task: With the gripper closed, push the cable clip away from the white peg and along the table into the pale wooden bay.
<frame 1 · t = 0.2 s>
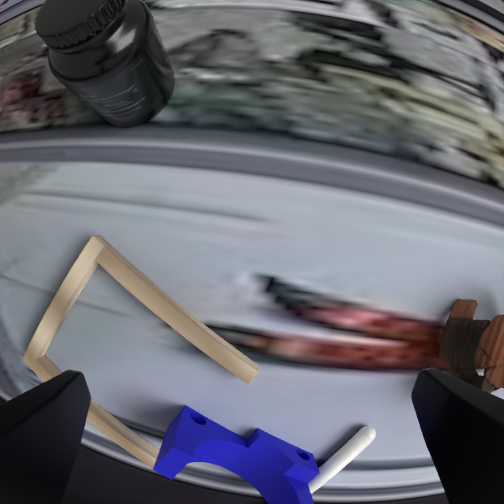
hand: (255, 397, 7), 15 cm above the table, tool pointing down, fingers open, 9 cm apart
wooden bay: (133, 369, 22), on the table
supplement bottle: (135, 91, 22), on the table
white peg: (310, 478, 23), on the table
cable clip: (242, 442, 23), on the table
pottery mug: (466, 344, 24), on the table
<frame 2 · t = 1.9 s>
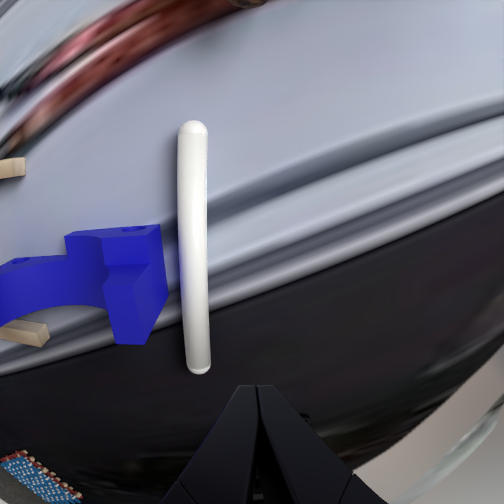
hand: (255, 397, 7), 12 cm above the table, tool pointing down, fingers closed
woven mat: (41, 473, 27), on the table
white peg: (195, 256, 18), on the table
cable clip: (82, 263, 19), on the table
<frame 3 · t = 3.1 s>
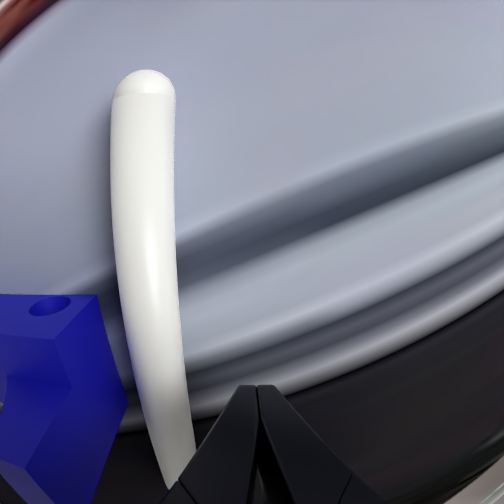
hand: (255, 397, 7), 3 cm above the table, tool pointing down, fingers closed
white peg: (162, 341, 9), on the table
cable clip: (1, 339, 10), on the table
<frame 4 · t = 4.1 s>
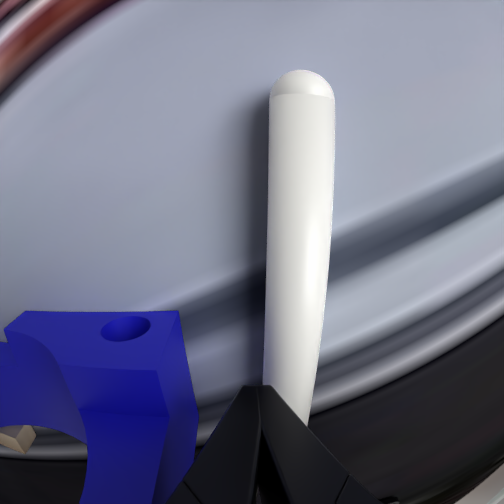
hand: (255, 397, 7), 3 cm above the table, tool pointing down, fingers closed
white peg: (287, 343, 10), on the table
cable clip: (46, 359, 10), on the table, touching gripper
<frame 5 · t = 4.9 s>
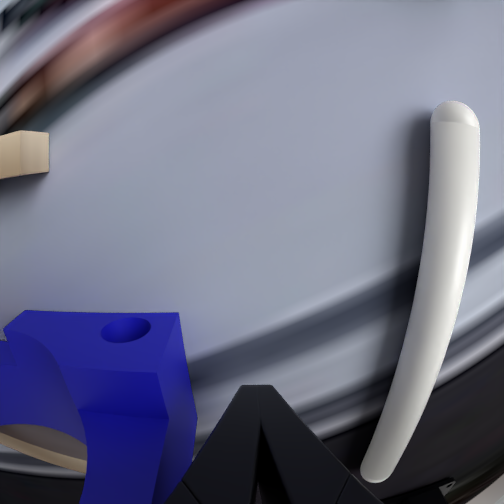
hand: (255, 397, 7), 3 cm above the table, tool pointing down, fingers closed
white peg: (415, 333, 10), on the table
cable clip: (45, 359, 10), on the table, touching gripper
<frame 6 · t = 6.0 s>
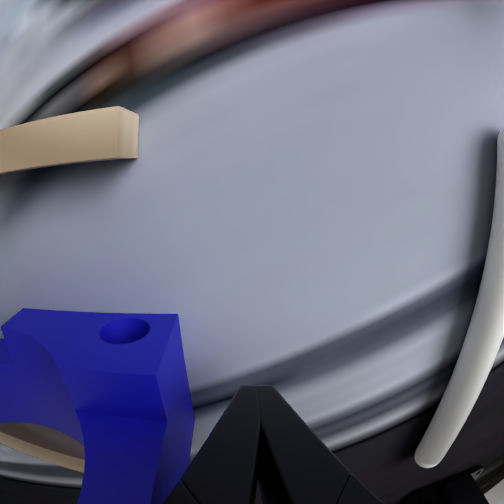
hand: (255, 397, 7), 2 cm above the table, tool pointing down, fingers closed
white peg: (474, 324, 10), on the table
cable clip: (42, 357, 10), on the table, touching gripper
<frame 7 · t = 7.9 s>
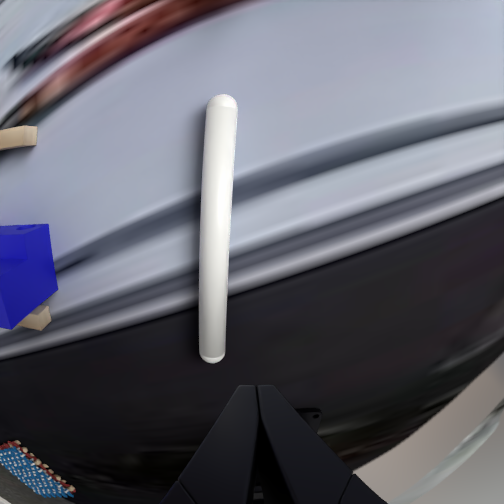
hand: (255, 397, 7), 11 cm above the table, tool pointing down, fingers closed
woven mat: (32, 464, 26), on the table
white peg: (215, 237, 18), on the table
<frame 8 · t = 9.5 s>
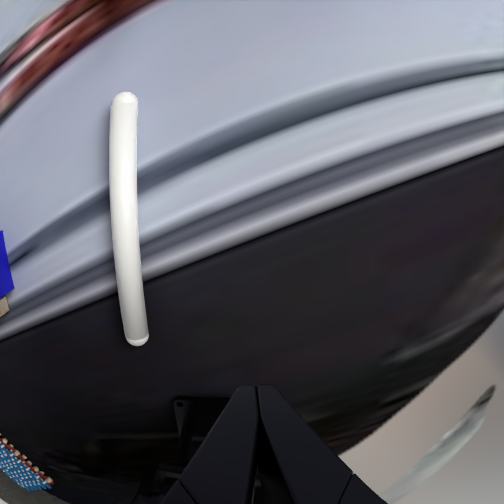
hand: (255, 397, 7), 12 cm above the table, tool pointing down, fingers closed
woven mat: (15, 457, 26), on the table
white peg: (129, 223, 18), on the table
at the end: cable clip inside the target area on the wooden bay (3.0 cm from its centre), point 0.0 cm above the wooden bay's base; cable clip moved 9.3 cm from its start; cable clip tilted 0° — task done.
